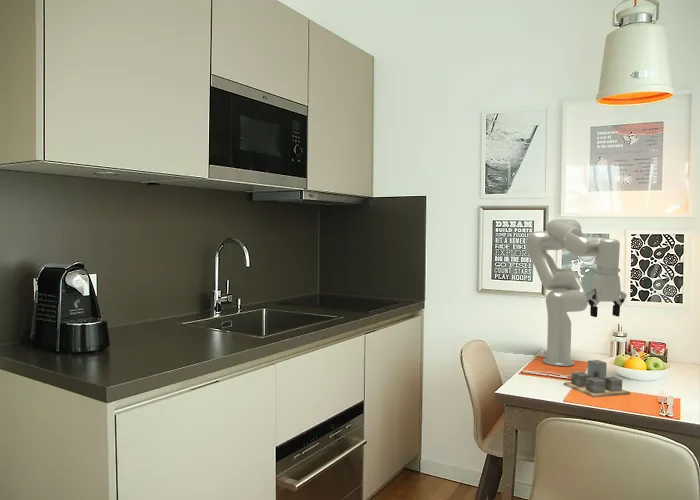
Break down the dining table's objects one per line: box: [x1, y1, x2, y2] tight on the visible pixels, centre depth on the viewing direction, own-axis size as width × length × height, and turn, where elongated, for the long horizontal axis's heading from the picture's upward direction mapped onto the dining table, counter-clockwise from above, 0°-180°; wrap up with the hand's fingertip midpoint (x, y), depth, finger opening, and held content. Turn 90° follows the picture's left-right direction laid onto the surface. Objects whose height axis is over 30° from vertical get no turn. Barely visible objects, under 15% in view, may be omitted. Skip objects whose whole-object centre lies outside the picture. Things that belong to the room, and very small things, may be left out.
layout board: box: [563, 371, 631, 398], centre depth 203 cm, size 16×15×5 cm
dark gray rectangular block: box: [587, 359, 608, 380], centre depth 208 cm, size 4×4×8 cm
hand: (604, 316), depth 216 cm, fingers open, 9 cm apart
